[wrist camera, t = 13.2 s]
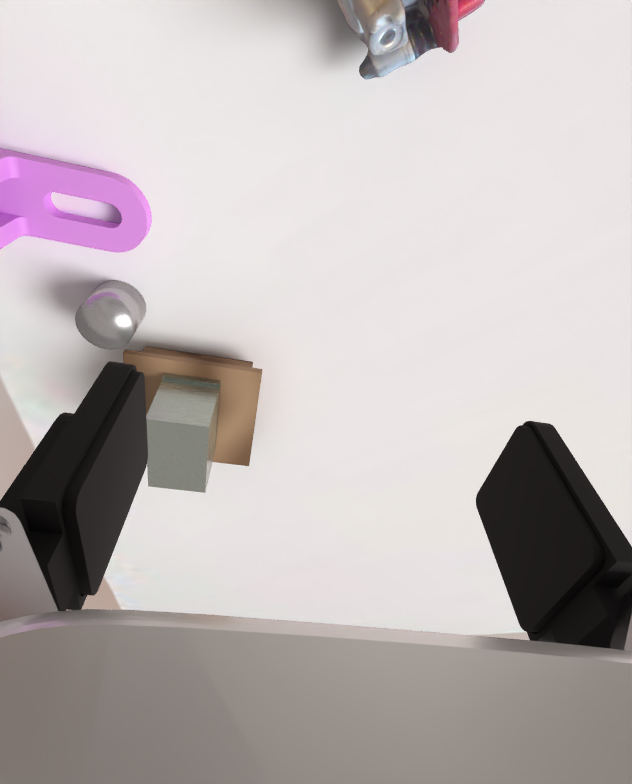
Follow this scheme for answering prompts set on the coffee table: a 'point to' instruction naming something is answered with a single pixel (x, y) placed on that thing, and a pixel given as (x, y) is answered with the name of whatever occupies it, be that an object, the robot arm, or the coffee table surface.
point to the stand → (234, 393)
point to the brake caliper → (404, 29)
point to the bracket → (43, 176)
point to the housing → (182, 432)
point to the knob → (111, 314)
